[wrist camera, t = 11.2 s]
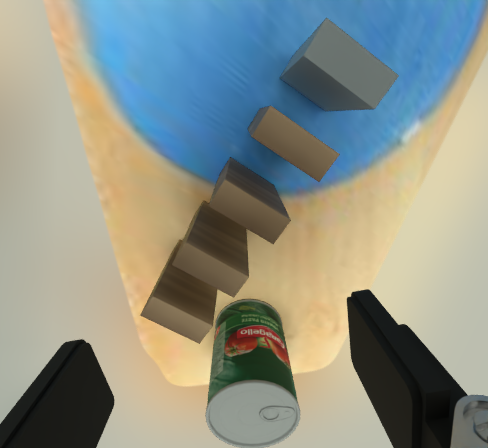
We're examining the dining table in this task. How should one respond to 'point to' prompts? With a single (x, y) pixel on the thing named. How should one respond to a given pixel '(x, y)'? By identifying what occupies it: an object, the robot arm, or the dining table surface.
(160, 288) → the walnut domino
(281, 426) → the canned tomato
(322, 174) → the walnut domino
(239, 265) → the walnut domino
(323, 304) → the dining table surface
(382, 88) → the charcoal domino
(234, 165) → the walnut domino
